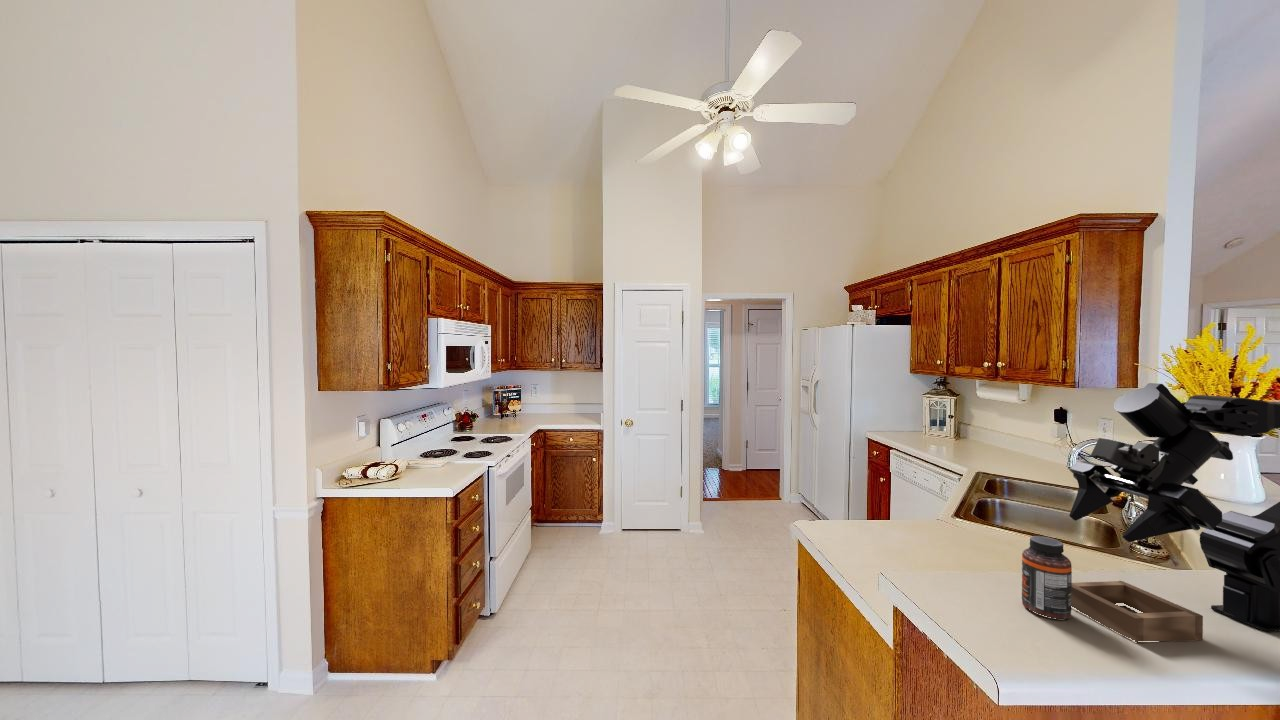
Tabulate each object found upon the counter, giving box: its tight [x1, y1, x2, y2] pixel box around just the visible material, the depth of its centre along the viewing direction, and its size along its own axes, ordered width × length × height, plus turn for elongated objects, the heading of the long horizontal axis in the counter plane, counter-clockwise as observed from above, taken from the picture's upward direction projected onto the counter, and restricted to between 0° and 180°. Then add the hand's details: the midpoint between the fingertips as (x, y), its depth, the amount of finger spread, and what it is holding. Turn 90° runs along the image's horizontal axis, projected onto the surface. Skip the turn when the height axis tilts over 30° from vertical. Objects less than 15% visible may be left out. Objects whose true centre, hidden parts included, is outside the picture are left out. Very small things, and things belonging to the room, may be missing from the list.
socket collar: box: [1071, 580, 1204, 642], centre depth 72 cm, size 10×10×4 cm
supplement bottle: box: [1021, 535, 1073, 620], centre depth 74 cm, size 6×6×11 cm
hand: (1097, 528), depth 74 cm, fingers open, 9 cm apart
